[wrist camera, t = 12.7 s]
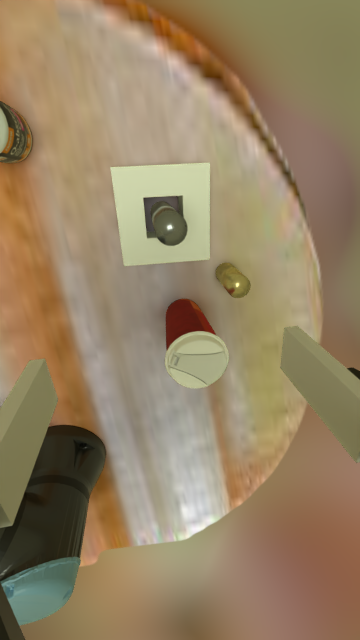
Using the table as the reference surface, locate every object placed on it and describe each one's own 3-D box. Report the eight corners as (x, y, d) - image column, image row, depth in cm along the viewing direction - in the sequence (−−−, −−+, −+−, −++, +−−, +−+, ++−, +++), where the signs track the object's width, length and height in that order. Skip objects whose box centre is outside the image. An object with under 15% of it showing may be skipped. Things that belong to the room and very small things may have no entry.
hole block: (125, 256, 40) (124, 266, 36) (114, 168, 35) (110, 167, 31) (202, 250, 41) (209, 259, 37) (201, 164, 36) (209, 162, 32)
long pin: (151, 225, 39) (156, 247, 26) (149, 201, 38) (153, 212, 25) (173, 224, 39) (188, 244, 27) (172, 200, 38) (187, 210, 25)
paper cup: (153, 330, 46) (157, 385, 34) (167, 286, 43) (177, 330, 31) (198, 340, 48) (218, 396, 35) (214, 299, 45) (242, 345, 32)
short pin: (214, 281, 44) (226, 298, 37) (216, 262, 42) (229, 275, 36) (233, 281, 44) (248, 297, 38) (236, 262, 43) (251, 275, 36)
